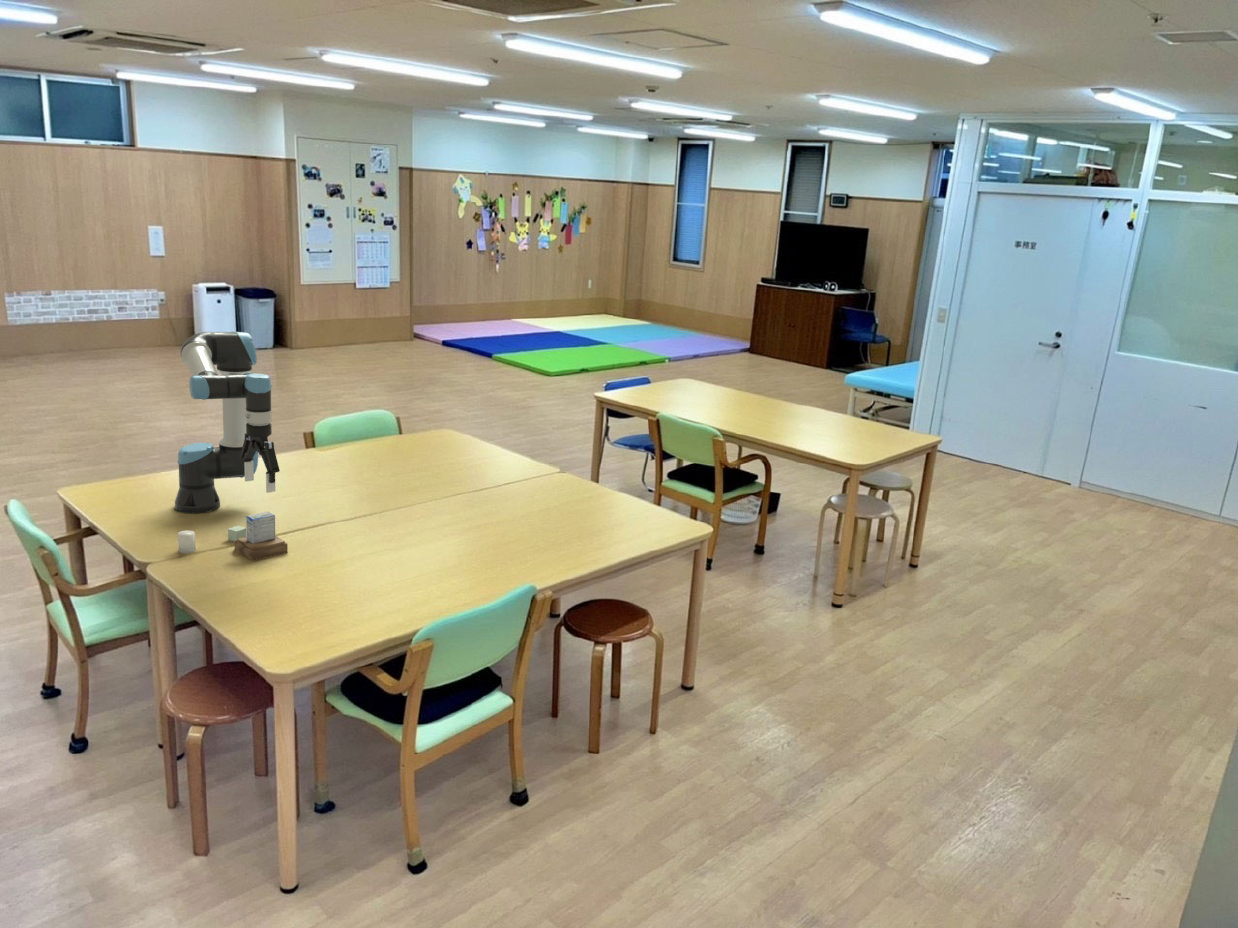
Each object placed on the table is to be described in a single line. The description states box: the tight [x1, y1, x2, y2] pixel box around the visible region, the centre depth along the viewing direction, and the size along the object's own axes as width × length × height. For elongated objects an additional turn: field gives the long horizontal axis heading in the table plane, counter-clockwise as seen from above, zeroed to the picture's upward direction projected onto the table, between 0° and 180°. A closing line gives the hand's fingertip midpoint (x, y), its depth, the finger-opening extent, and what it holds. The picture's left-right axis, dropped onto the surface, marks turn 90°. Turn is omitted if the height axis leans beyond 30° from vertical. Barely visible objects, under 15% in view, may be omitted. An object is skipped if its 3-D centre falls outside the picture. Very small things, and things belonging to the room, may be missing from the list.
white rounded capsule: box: [177, 530, 196, 554], centre depth 294 cm, size 5×5×6 cm
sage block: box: [227, 525, 247, 543], centre depth 307 cm, size 4×4×4 cm
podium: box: [234, 535, 289, 562], centre depth 299 cm, size 12×12×4 cm
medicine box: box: [245, 511, 276, 544], centre depth 297 cm, size 8×4×9 cm, turn 139°
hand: (259, 486), depth 294 cm, fingers open, 13 cm apart
